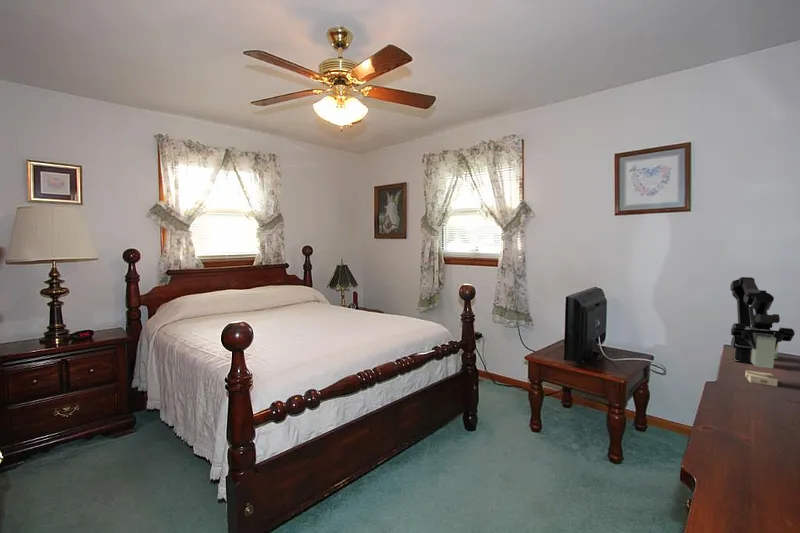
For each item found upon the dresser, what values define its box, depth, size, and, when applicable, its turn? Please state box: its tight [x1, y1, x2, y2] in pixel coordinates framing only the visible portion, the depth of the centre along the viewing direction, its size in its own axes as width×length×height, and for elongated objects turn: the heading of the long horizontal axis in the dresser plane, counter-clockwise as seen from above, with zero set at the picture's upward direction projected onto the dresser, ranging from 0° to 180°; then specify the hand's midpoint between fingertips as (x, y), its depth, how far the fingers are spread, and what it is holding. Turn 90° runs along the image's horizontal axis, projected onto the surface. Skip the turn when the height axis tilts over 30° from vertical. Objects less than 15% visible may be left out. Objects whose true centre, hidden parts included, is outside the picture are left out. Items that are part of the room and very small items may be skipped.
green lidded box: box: [751, 333, 776, 369], centre depth 161 cm, size 6×6×12 cm
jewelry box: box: [744, 369, 779, 387], centre depth 162 cm, size 8×8×3 cm
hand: (764, 350), depth 160 cm, fingers closed on green lidded box, 5 cm apart
